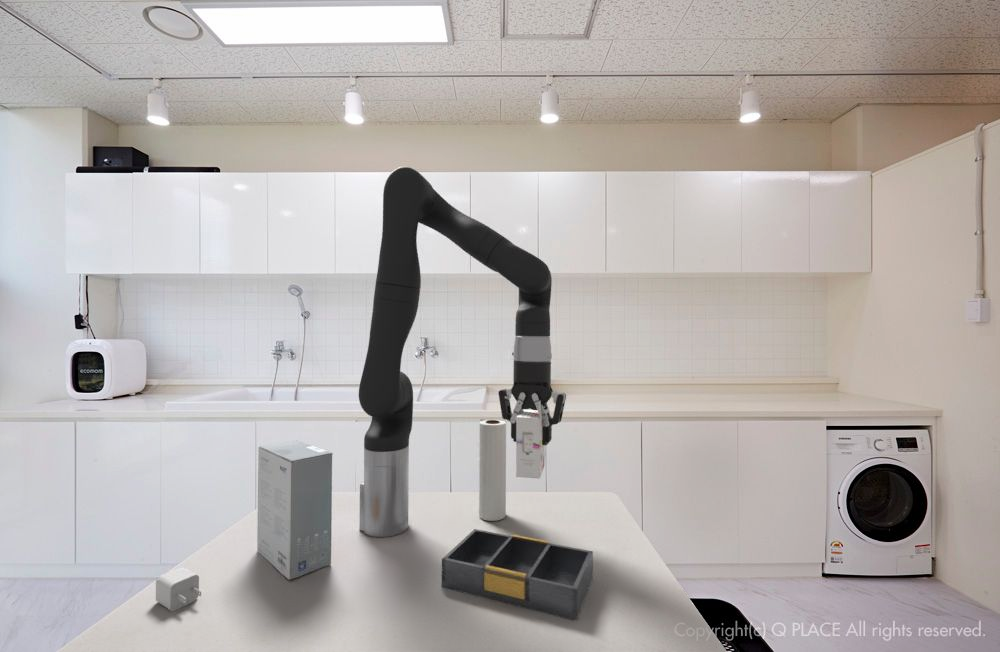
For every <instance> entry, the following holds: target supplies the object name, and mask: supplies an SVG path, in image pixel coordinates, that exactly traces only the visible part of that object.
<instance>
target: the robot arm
mask: <svg viewBox="0 0 1000 652" xmlns="http://www.w3.org/2000/svg"><path fill="white" fill-rule="evenodd" d="M382 196H383V197H382V230H381V231H382V233H381V241H380V249H379V255H378V256H379V257H378V264H377V271H376V279H375V286H374V292H373V293H374V294H373V304H372V313H371V314H372V315H371V320H370V329H369V340H368V344H367V345H368V346H367V352H366V357H365V361H364V364H363V370H362V373H361V378H360V382H359V387H358V400H359V405H360V407H361V409H362V410H363V412H364V413H366V415H368V416H369V417H371V421H370V425H369V427H368V429H367V430H366V432H365V434H364V437H363V438H364V439H363V482H361V483H360V484H359V530H361V531H363V532H364V534H366V535H367V536H370V537H373V538H386V537H393V536H397V535H399V534H402V533H404V532H405V531H407V530H408V528H409V501H410V500H409V491H410V490H409V489H410V488H409V484H410V482H409V477H410V476H409V475H410V474H409V473H410V472H409V471H410V470H409V469H410V465H409V464H410V463H409V461H410V460H409V459H410V457H409V456H410V436H411V432H412V429H413V414H414V413H413V412H414V389H413V384H412V381H411V380H410V378H409V376H407V374H405V372H403V371H401V367H402V366H401V364H402V358H403V357H402V356H403V351H404V348H405V345H406V342H407V339H408V337H409V334H410V333H411V329H412V328H413V326H414V323H415V319H416V316H417V312H418V309H419V301H420V296H421V295H420V294H421V286H422V285H421V284H422V280H421V279H422V277H421V267H420V260H419V258H420V257H419V254H418V242H417V238H418V237H417V235H418V227H419V224H422V225H423V226H426V227H428V228H430V229H432V230H434V231H436V232H438V233H439V234H440V235H443V236H444V237H446V238H447V239H449V241H451V242H452V243H454V244H455V245H456V246H457V247H459V248H460V249H461V250H462V251H464V252H465V253H467V255H469V256H471V258H473V259H474V260H476V261H478V262H479V263H481V264H482V265H484V266H485V267H487V269H490V270H492V271H493V272H495V273H498V274H499V275H501V276H502V277H503V278H505V279H506V280H507V281H509V282H510V283H511V284H512V285H514V286H515V287H516V288H518V309H517V311H516V313H515V330H514V331H515V333H514V335H515V336H514V337H515V338H514V342H513V343H514V345H513V375H512V376H513V379H512V380H513V381H512V382H513V384H512V387H511V388H510V389H509V388H502V389H500V390H499V391H498V400H499V405H500V413H501V417H502V419H503V420H507V421H508V422H509V423H510V438H511V439H513V440H512V441H513V442H514V443H516V417H517V416H518V415H519V414H520V413H522V412H524V410H537V411H538V413H539V404H538V403H539V401H541V415H542V421H543V424H544V426H543V427H542V445H545V446H548V445H549V443H550V442H551V441H552V440H553V439H552V427H553V426H554V425H558V424H559V423H561V422H562V419H563V414H564V409H565V405H566V404H565V403H566V399H567V394H566V393H565V392H561V393H559V392H557V391H554V390H553V388H552V385H551V384H552V382H551V381H552V380H551V378H552V345H551V344H552V343H551V313H550V306H551V297H552V285H553V284H552V281H553V279H552V277H553V276H552V272H551V271H550V268H549V266H548V264H546V263H545V262H544V260H542V259H540V258H539V257H537V256H536V255H534V254H532V253H530V252H529V251H527V250H526V249H524V248H522V247H520V246H518V245H515V244H514V243H513V242H512V241H511V240H509V239H508V238H507V237H505V236H504V235H502V234H500V233H499V232H498V231H495V229H493V228H491V227H490V226H488V225H486V224H485V223H482V222H481V221H479V220H477V219H475V218H473V217H471V216H469V215H467V214H465V213H464V212H461V211H460V210H459V209H457V208H455V206H453V205H451V203H449V202H448V201H447V200H445V198H443V197H442V196H441V195H440V194H439V193H438V192H437V191H436V190H435V189H434V188H433V186H432V184H431V183H430V182H429V181H428V179H426V178H425V177H424V175H422V174H421V173H420V172H419V171H418V170H416V169H414V168H412V167H409V166H400V167H397V168H396V169H394V170H393V171H392V172H391V173H390V174H388V176H387V178H386V180H385V183H384V186H383V194H382ZM512 396H513V397H514V399H515V401H516V403H515V406H514V409H513V412H512V408H511V407H512V406H511V401H510V400H511V399H512ZM551 398H552V401H553V404H555V406H554V411H553V415H552V416H551V413H550V407H549V406H548V402H549V401H550V400H551Z"/></svg>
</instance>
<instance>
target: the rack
mask: <svg viewBox="0 0 1000 652" xmlns="http://www.w3.org/2000/svg"><path fill="white" fill-rule="evenodd" d="M593 556H594V551H592V550H587V549H582V548H578V547H577V548H576V547H570V546H566V545H560V544H556V543H550V542H549V540H543V539H537V538H532V537H528V536H522V535H518V534H513V535H509V534H508V535H507V534H503V533H498V532H492V531H487V530H483V529H476V528H474V529H473V530H471V532H470V533H468V534H467V535H466V536H465V538H463V539H462V540H460V542H459V543H458V544H457V545H456V546H454V547H453V548H452V549H451V550H450V551H449V552H448V553H447V554H446V555H444V556H443V557H442V559H441V588H446V589H449V590H454V591H458V592H460V593H465V594H469V595H473V596H477V597H479V598H485V599H489V600H492V601H497V602H500V603H505V604H508V605H512V606H516V607H517V606H518V607H520V608H524V609H528V610H532V611H536V612H540V613H545V614H548V615H552V616H556V617H559V616H560V617H561V618H563V619H564V618H565V619H568V620H573V621H575V620H576V621H577V620H578V618H579V615H580V613H581V610H582V607H583V605H584V603H585V599H586V597H587V594H588V592H589V588H590V586H591V585H592V582H593V578H594V570H593V569H594V562H593V561H594V559H593V558H594V557H593ZM579 612H580V613H579Z"/></svg>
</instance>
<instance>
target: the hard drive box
mask: <svg viewBox="0 0 1000 652" xmlns="http://www.w3.org/2000/svg"><path fill="white" fill-rule="evenodd" d="M257 459H258V460H257V461H258V463H257V465H258V469H257V471H258V473H257V478H258V479H257V533H256V535H257V539H256V540H257V541H256V542H257V546H256V547H257V552H258V553H259V554H260V555H261V556H263V558H264V559H265V560H267V562H269V563H270V564H271V565H272V566H273V567H274V568H276V570H277V571H278V572H279V573H280V574H281V575H282V576H284V577H285V578H286V579H287V580H288V581H289V580H294V579H296V578H298V577H301V576H304V575H306V574H308V573H311V572H314V571H317V570H319V569H322V568H324V567H327V566H330V565H332V525H333V524H332V520H333V519H332V516H333V515H332V513H333V512H332V511H333V510H332V507H333V506H332V505H333V503H332V502H333V501H332V499H333V498H332V497H333V496H332V495H333V493H332V491H333V452H331V451H329V450H326V449H323V448H320V447H317V446H314V445H311V444H309V443H307V442H306V443H305V442H302V441H299V440H296V439H295V440H290V441H284V442H277V443H273V444H267V445H260V446H259V447H258V458H257Z"/></svg>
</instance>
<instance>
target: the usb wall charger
mask: <svg viewBox="0 0 1000 652" xmlns="http://www.w3.org/2000/svg"><path fill="white" fill-rule="evenodd" d="M168 572H169V573H168ZM168 572H166V573H163V574H161V575H159V576H158V577H157V578H156V580H155V601H156V602H157V603H159V604H160V605H162V606H163V607H164V608H166V609H168V610H169V611H172V612H173V611H176V610H178V609H180V608H182V607H184V606H187V605H189V604H190V603H194V602H195V601H197V599H198V598H199V597H202V591H201V590H200V576H199V575H198V574H197V573H194V572H193V571H191V570H188V569H187V568H186V567H183V566H182V567H179V568H176V569H173V570H170V571H168ZM167 573H168V574H167ZM165 574H166V575H165ZM158 579H159V580H158Z"/></svg>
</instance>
